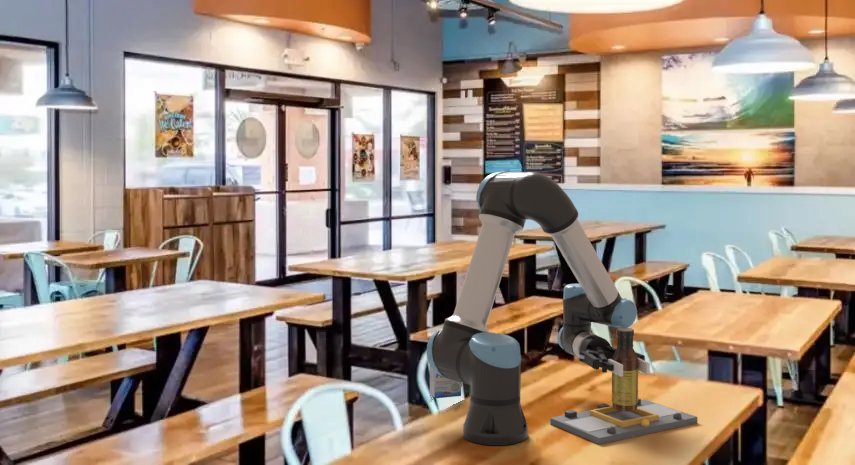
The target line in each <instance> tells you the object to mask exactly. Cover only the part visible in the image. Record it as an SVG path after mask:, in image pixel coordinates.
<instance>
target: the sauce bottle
mask: <svg viewBox="0 0 855 465" xmlns="http://www.w3.org/2000/svg"><path fill="white" fill-rule="evenodd" d="M634 333H635V329H634V328H631V327H628V328H619V327H617V329H616V337H617V342H616V348H615V349H616V351H615V354H614V356H613V359H612V360H614V361H616V362H618V363H620V364H622V365H623V376H621V377H620V376H618V375H616V374H614V373H612V372H611V402H612V406H613V408H614V409H616V410H620V411H626V412H629V411H633V410H636V409H637V403H638V399H639V370H638V357H637V354H636V352H637V351H635V349H634V335H635V334H634Z"/></svg>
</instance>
